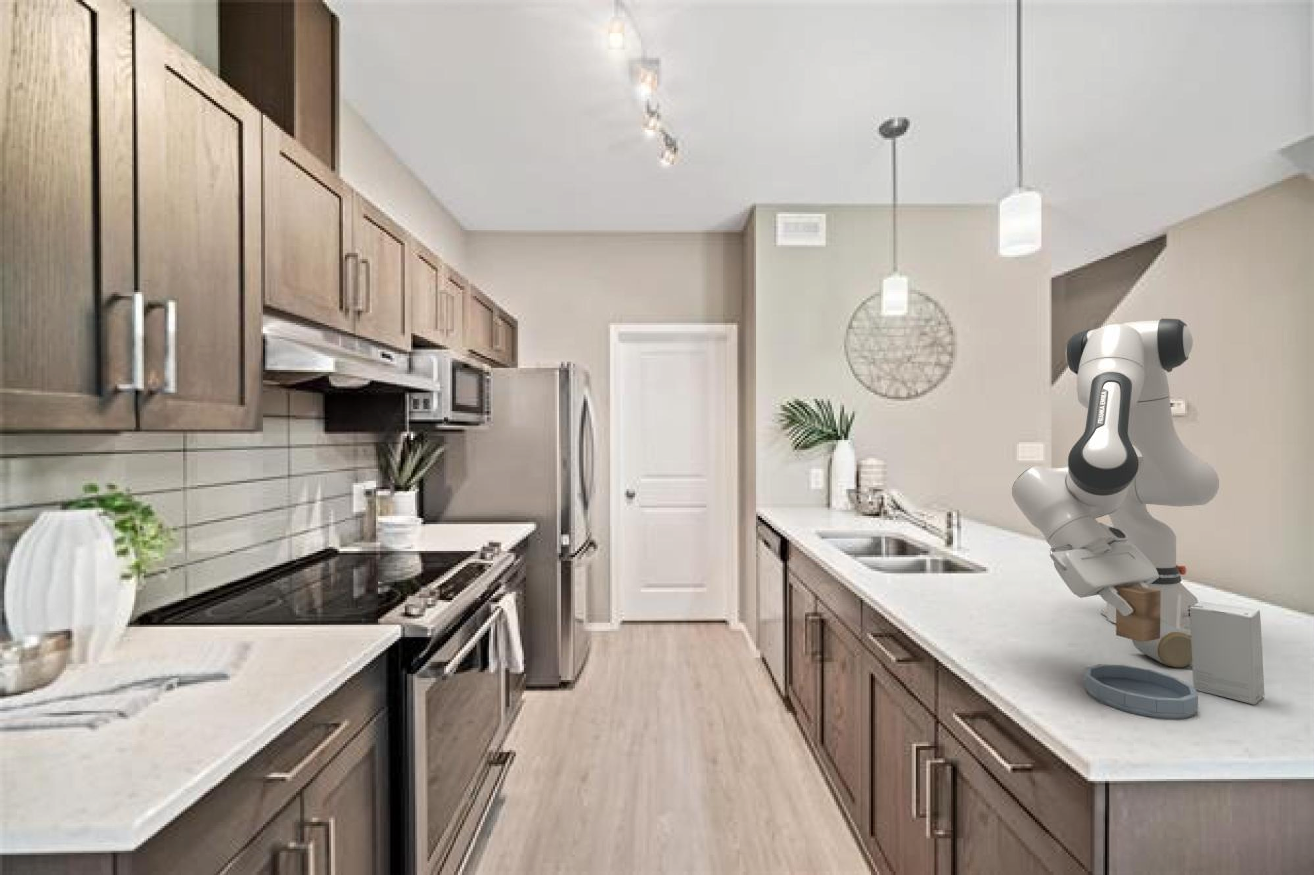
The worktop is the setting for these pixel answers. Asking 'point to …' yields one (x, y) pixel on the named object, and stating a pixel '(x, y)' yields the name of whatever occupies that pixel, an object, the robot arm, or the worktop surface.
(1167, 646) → the ceramic mug
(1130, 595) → the walnut block
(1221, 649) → the skincare box
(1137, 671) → the slate bowl
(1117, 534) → the robot arm
